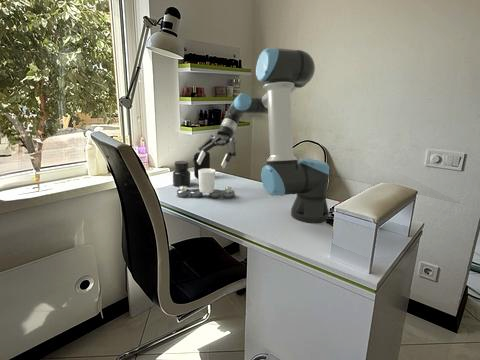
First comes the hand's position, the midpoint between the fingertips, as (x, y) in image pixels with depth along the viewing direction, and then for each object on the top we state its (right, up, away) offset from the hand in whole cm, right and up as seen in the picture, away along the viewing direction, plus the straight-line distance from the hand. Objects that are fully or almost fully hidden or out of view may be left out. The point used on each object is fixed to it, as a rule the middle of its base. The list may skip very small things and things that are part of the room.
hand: (210, 164), depth 151 cm
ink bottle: (-16, -10, +17) cm, 25 cm away
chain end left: (-10, -15, 0) cm, 17 cm away
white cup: (-2, -13, -1) cm, 13 cm away
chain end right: (+5, -15, 0) cm, 16 cm away
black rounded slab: (-8, -6, +30) cm, 32 cm away
